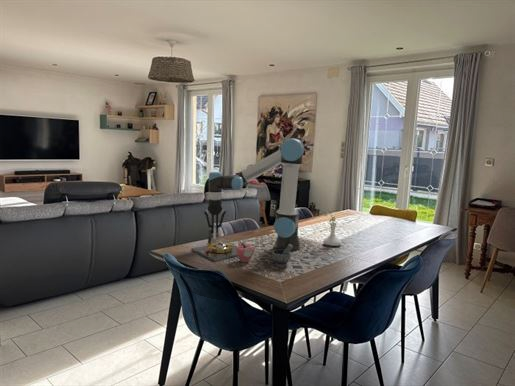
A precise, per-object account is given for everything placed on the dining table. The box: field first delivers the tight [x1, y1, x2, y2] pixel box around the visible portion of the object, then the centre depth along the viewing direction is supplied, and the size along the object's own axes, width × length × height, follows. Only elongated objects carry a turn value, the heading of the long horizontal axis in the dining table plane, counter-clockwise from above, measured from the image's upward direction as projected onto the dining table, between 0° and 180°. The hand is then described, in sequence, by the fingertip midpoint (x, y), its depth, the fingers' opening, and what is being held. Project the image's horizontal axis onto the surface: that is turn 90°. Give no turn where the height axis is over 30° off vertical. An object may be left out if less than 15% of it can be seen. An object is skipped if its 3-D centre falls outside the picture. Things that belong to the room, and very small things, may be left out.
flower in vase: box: [322, 205, 342, 247], centre depth 236 cm, size 13×11×25 cm
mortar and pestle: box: [271, 244, 293, 268], centre depth 197 cm, size 11×9×12 cm
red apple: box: [236, 242, 255, 263], centre depth 202 cm, size 10×9×10 cm
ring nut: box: [206, 229, 233, 253], centre depth 218 cm, size 16×13×10 cm
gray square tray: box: [190, 241, 239, 262], centre depth 217 cm, size 24×24×5 cm
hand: (214, 238), depth 225 cm, fingers closed
